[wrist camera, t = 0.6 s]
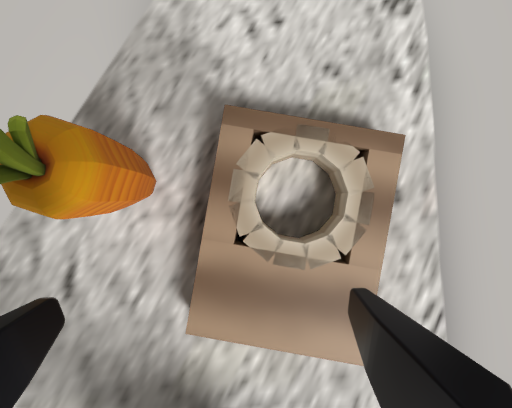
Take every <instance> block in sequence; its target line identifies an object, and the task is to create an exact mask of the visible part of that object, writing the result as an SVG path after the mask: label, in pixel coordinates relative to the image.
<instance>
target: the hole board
mask: <svg viewBox="0 0 512 408" xmlns="http://www.w3.org/2000/svg"><path fill="white" fill-rule="evenodd" d="M254 140H255V141H254ZM259 140H260V141H261V142H260V141H259ZM404 140H405V135H403V134H397V133H391V132H385V131H379V130H373V129H367V128H361V127H355V126H349V125H343V124H337V123H331V122H325V121H319V120H314V119H308V118H302V117H296V116H290V115H284V114H278V113H272V112H266V111H260V110H254V109H248V108H242V107H236V106H230V105H225V106H224V112H223V118H222V124H221V130H220V135H219V141H218V147H217V153H216V159H215V165H214V170H213V176H212V182H211V188H210V194H209V200H208V205H207V211H206V217H205V223H204V229H203V235H202V240H201V246H200V252H199V258H198V264H197V270H196V275H195V281H194V287H193V293H192V299H191V305H190V310H189V316H188V322H187V328H186V334H189V335H195V336H200V337H206V338H212V339H217V340H223V341H228V342H234V343H239V344H245V345H250V346H256V347H261V348H267V349H272V350H278V351H283V352H289V353H294V354H300V355H305V356H311V357H316V358H322V359H327V360H333V361H338V362H344V363H349V364H355V365H360V366H364V364H363V361H362V358H361V355H360V352H359V349H358V345H357V342H356V339H355V336H354V332H353V329H352V326H351V323H350V320H349V316H348V304H349V295H350V290H351V289H352V288H366V289H368V290H370V291H371V292H373V293H374V294H376V295H377V291H378V286H379V280H380V274H381V269H382V263H383V258H384V252H385V247H386V241H387V235H388V230H389V224H390V219H391V213H392V207H393V202H394V196H395V191H396V185H397V179H398V174H399V168H400V163H401V157H402V152H403V146H404ZM291 157H293V158H299V159H305V160H311V161H313V162H315V163H316V164H317V165H318V166H319V167H321V168H322V169H323V170H324V171H325V172H327V173H328V174H329V177H330V179H331V182H332V185H333V187H334V190H335V193H336V196H335V202H334V208H333V213H332V216H331V217H330V218H329V219H328V220H327V222H326V223H325V224H324V225H323V226H322V227H321V229H320V230H319V231H317V232H314V233H311V234H309V235H306V236H303V237H300V238H296V237H290V236H285V235H279V234H277V233H276V232H275V231H274V230H272V229H271V228H270V227H269V226H268V225H266V224H265V223H264V222H263V221H262V219H261V216H260V214H259V211H258V208H257V206H256V203H255V198H256V192H257V186H258V181H259V179H260V178H261V177H262V176H263V175H264V173H265V172H266V171H267V170H268V169H269V167H270V166H271V165H272V164H275V163H277V162H280V161H283V160H286V159H288V158H291ZM238 234H239V236H243V235H245V237H244V240H243V239H237V237H238Z"/></svg>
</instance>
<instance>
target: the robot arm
mask: <svg viewBox="0 0 512 408" xmlns="http://www.w3.org/2000/svg"><path fill="white" fill-rule="evenodd" d="M348 316H349V320H350V323H351V326H352V329H353V332H354V336H355V339H356V342H357V345H358V349H359V352H360V355H361V358H362V361H363V364H364V367H365V370H366V373H367V376H368V378H369V381H370V383H371V386H372V388H373V390H374V393H375V395H376V397H377V400H378V402H379V405H380V407H381V408H512V388H511V387H510V385H509V384H507V383H506V382H505V381H503V380H502V379H500V378H499V377H497V376H496V375H494V374H493V373H491V372H490V371H488V370H487V369H485V368H484V367H482V366H481V365H479V364H478V363H476V362H475V361H473V360H472V359H470V358H469V357H468V356H466V355H465V354H463V353H461V352H460V351H459V350H457V349H456V348H454V347H453V346H451V345H450V344H448V343H447V342H445V341H444V340H442V339H441V338H439V337H438V336H436V335H435V334H433V333H432V332H430V331H429V330H427V329H426V328H424V327H423V326H422V325H420V324H419V323H417V322H416V321H414V320H413V319H411V318H410V317H408V316H407V315H405V314H404V313H402V312H401V311H399V310H398V309H396V308H395V307H393V306H392V305H390V304H389V303H387V302H386V301H384V300H383V299H381V298H380V297H378V296H377V295H376V294H374V293H373V292H371V291H370V290H368V289H366V288H352V289H351V290H350V295H349V304H348ZM64 323H65V317H64V315H63V312H62V310H61V307H60V304H59V302H58V300H57V299H56V298H53V297H49V298H39V299H36V300H34V301H32V302H30V303H28V304H26V305H23V306H21V307H19V308H17V309H15V310H13V311H11V312H8V313H6V314H4V315H2V316H0V408H13V406H14V405H15V403H16V402H17V401H18V399H19V398H20V396H21V395H22V393H23V392H24V390H25V389H26V387H27V386H28V384H29V383H30V381H31V380H32V378H33V377H34V375H35V373H36V372H37V370H38V368H39V367H40V365H41V363H42V362H43V360H44V358H45V357H46V355H47V353H48V351H49V350H50V348H51V346H52V345H53V343H54V341H55V340H56V338H57V336H58V335H59V333H60V331H61V329H62V328H63V326H64Z"/></svg>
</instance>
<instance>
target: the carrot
mask: <svg viewBox="0 0 512 408" xmlns="http://www.w3.org/2000/svg"><path fill="white" fill-rule="evenodd" d="M8 127H9V132H7V133H6V134H5V133H4V132H3V131H2V130H1V129H0V184H1V185H2V186H3V189H4V191H5V193H6V194H7V197H8V198H9V200H10V202H11V204H12V205H14V206H17V207H20V208H23V209H26V210H29V211H32V212H35V213H38V214H41V215H44V216H47V217H50V218H54V219H69V218H78V217H86V216H93V215H100V214H106V213H111V212H114V211H117V210H120V209H123V208H125V207H128V206H130V205H132V204H135V203H137V202H139V201H141V200H143V199H145V198H147V197H148V196H150V195H151V194H152V193H153V190H154V187H155V184H156V179H155V177H154V175H153V173H152V171H151V170H150V168H149V166H148V164H147V163H146V162H145V161H144V160H143V159H142V158H141V157H140V156H139V155H138V154H136V153H135V152H134V151H133V150H131V149H130V148H128V147H126V146H124V145H122V144H120V143H118V142H116V141H115V140H112V139H110V138H108V137H106V136H104V135H102V134H100V133H98V132H95V131H93V130H91V129H88V128H85V127H82V126H79V125H76V124H73V123H70V122H67V121H64V120H61V119H58V118H54V117H51V116H47V115H40V116H38V117H36V118H34V119H32V120H30V121H28V122H27V120H26V118H25V117H22V116H18V115H17V116H14V117H12V118H10V119H9V122H8Z"/></svg>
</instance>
